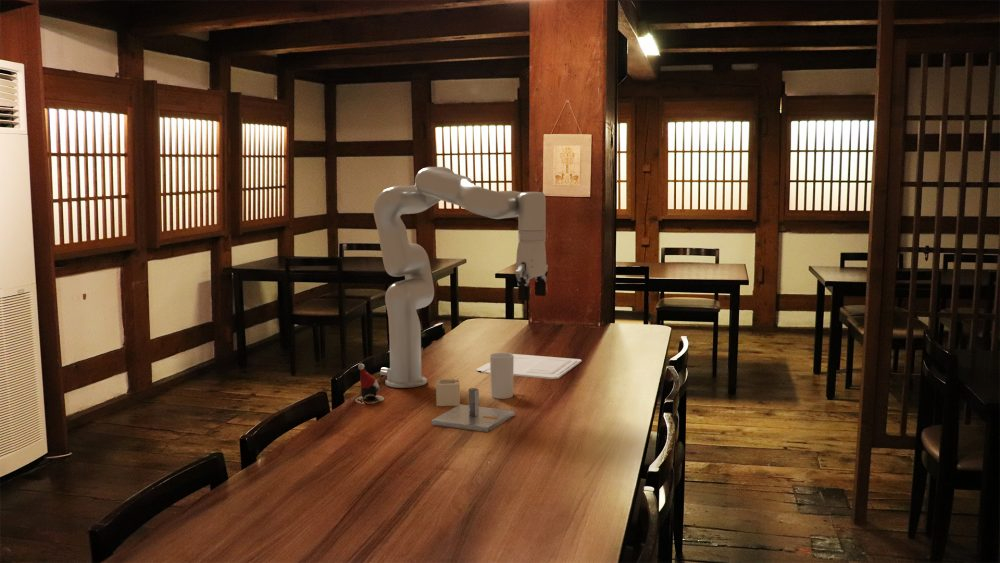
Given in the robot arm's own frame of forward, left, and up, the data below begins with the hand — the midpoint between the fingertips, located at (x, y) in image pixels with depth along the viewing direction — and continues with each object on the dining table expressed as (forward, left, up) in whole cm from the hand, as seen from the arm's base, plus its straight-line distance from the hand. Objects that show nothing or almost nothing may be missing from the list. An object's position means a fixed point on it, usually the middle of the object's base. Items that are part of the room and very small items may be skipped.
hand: (532, 297), depth 238 cm
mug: (-10, +2, -29) cm, 31 cm away
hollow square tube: (-21, -12, -29) cm, 38 cm away
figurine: (-43, -18, -29) cm, 55 cm away
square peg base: (-7, -24, -29) cm, 39 cm away
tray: (-17, +38, -30) cm, 51 cm away
